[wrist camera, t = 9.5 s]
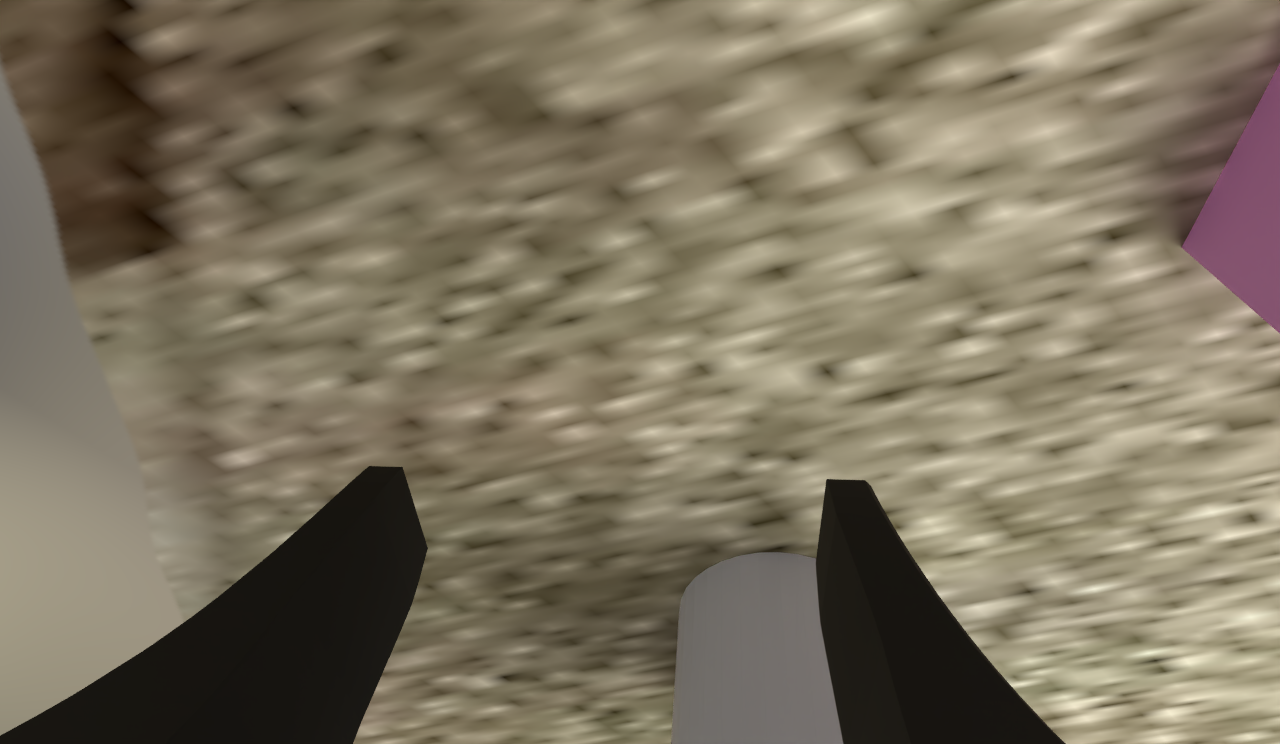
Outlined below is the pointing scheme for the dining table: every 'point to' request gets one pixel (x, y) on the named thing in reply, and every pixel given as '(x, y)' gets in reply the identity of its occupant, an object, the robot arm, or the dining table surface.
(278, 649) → the robot arm
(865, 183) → the dining table surface
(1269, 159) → the bracket
